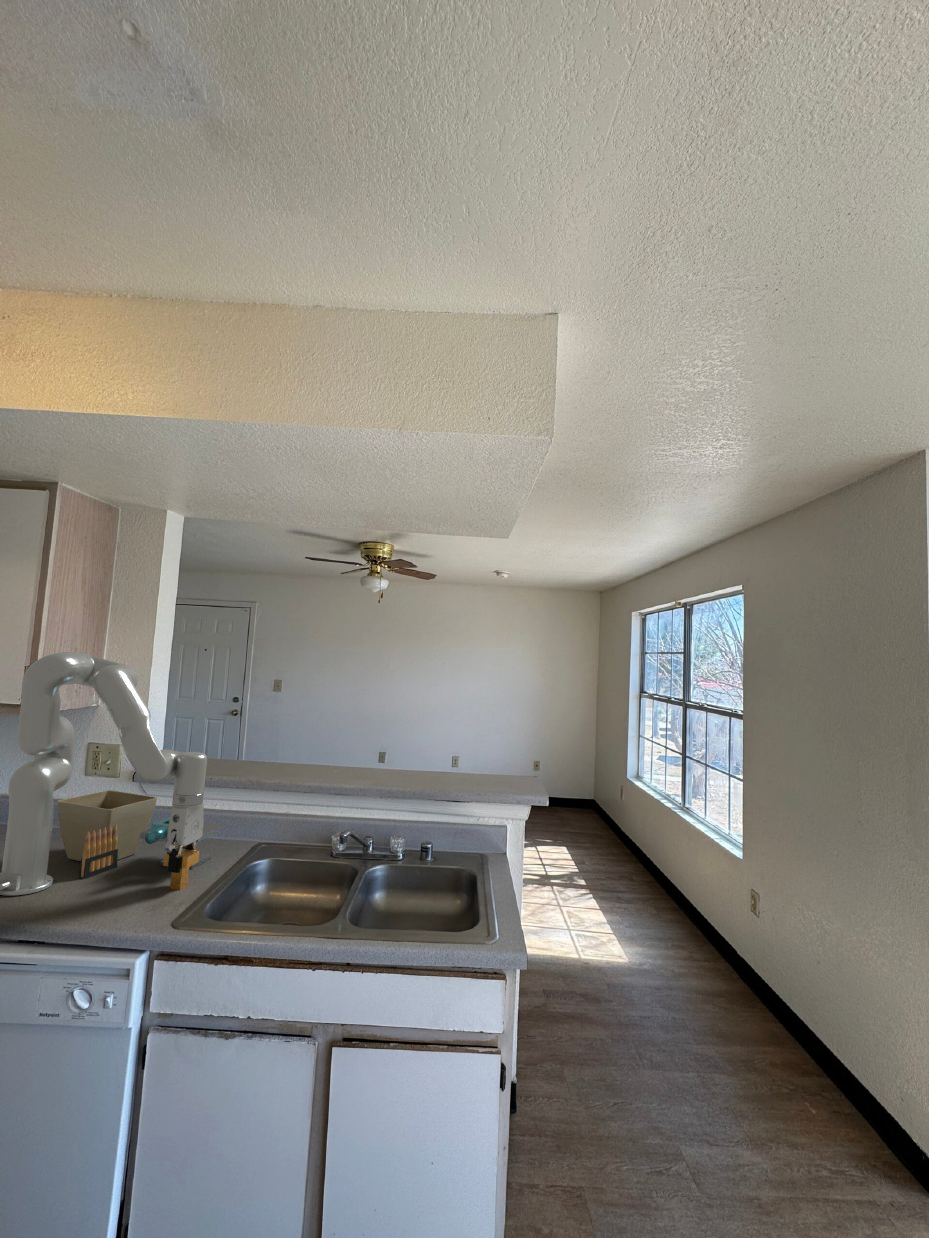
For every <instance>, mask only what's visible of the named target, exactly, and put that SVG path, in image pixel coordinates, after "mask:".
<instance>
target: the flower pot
mask: <svg viewBox="0 0 929 1238" xmlns="http://www.w3.org/2000/svg"><path fill="white" fill-rule="evenodd" d="M157 801H158V797H157V796H151V795H146V794H145V795H144V794H139V793H133V792H127V791H126V792H125V791H120V790H112V789H109V790H108V789H107V790H103V791H102V790H101V791H97V792H92V793H88V794H82V795H79V796H73V797H69V798H67V797H66V798H64V799H59V800H57V816H58V825H59V831H60V835H61V839H62V844H63V848H64V851H65V853H66V857H67V859H68V860H72V861H78V862H81V858H83V848H84V844H85V838H86V835H87V832H89V833H90V841H91V835H92V832H93V830H95V833H96V836H97V832H98V830H99V828H100V830H101V838H102V832H103V829H104V827H106V831H107V832H108V830H109V828H110V826H111V827H112V833H113V829H114V826H115V825H117V839H118V841H117V849H118V860H121V859H124V858H127V857H129V856H132V855H135V854H136V852H137V851H138V849H139V847H140V845H141V843H142V841H143V839H139V838H140V833H141V832H144V831H146V830H148V827H149V824H150V822H151V820H152V817H153V814H154V811H155V807H156V804H157Z"/></svg>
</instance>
